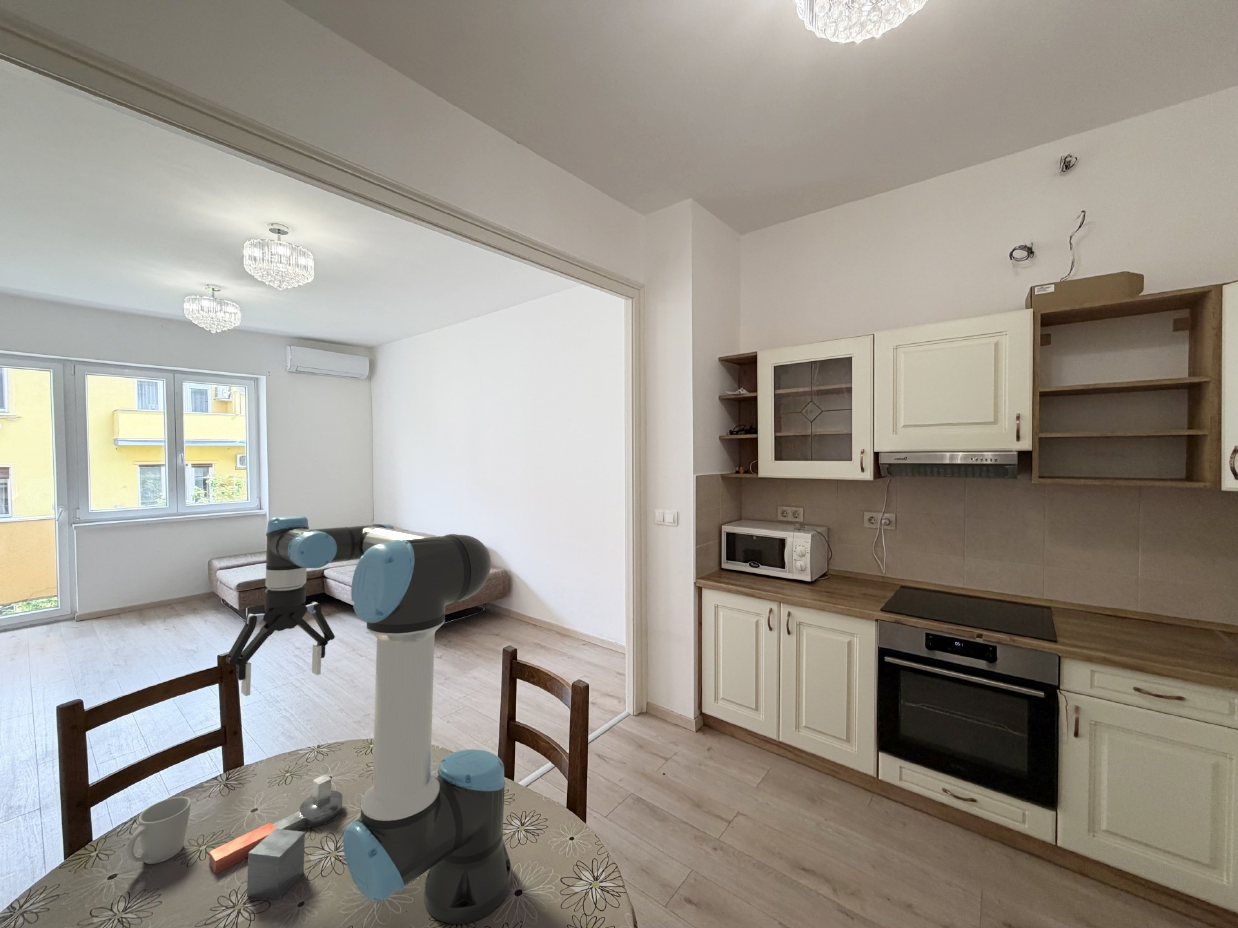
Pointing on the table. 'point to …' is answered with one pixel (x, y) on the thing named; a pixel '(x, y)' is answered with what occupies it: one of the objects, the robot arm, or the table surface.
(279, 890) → the grey rectangular block
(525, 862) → the table surface
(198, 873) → the table surface
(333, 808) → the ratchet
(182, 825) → the cup
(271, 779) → the table surface
